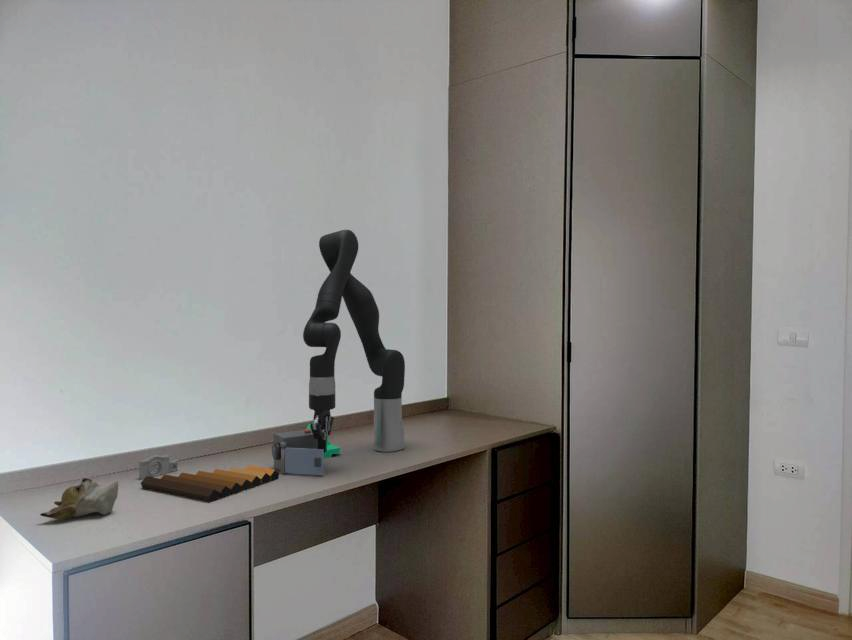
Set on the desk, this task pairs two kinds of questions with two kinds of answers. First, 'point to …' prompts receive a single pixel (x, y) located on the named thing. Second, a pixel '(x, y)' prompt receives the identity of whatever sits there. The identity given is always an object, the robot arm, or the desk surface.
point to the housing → (292, 443)
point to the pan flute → (211, 482)
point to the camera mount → (329, 448)
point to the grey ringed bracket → (162, 462)
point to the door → (302, 461)
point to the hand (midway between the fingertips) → (322, 452)
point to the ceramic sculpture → (85, 500)
